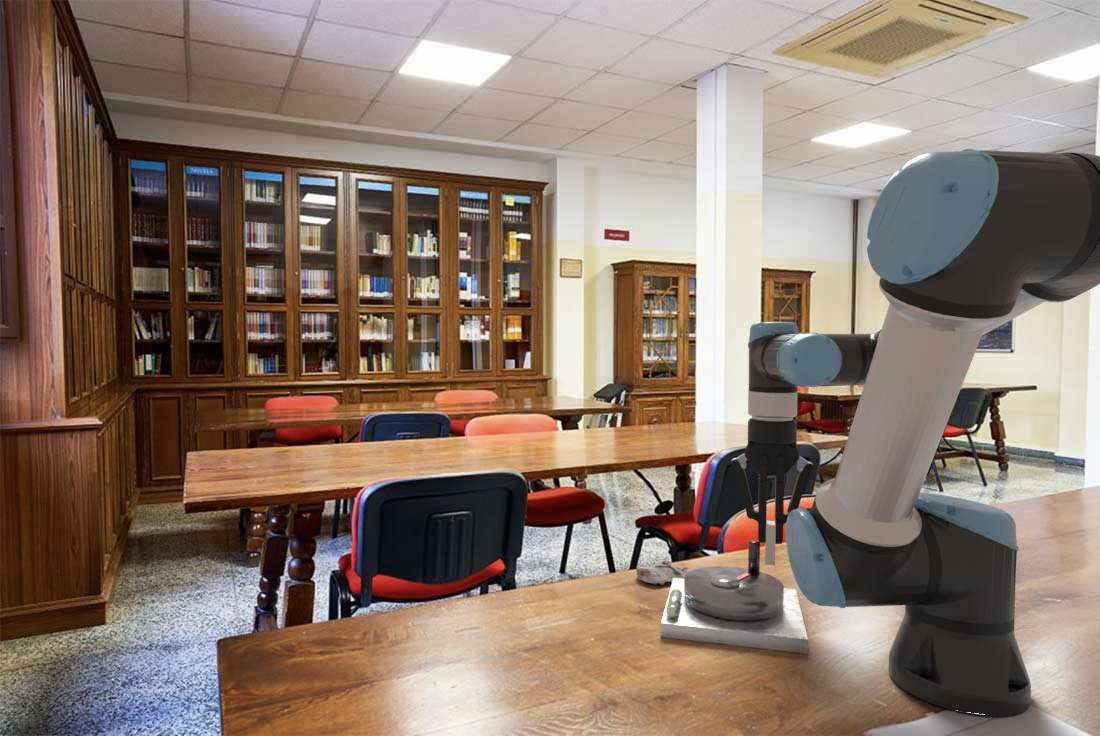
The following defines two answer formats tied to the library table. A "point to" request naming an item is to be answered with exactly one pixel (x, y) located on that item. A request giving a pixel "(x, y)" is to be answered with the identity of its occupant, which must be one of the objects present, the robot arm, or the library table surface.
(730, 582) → the crank handle wheel
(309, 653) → the library table surface
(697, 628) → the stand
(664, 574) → the stone
